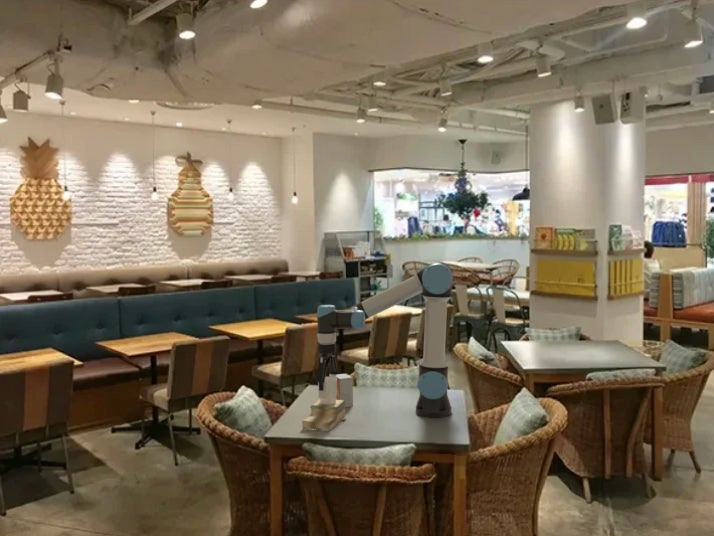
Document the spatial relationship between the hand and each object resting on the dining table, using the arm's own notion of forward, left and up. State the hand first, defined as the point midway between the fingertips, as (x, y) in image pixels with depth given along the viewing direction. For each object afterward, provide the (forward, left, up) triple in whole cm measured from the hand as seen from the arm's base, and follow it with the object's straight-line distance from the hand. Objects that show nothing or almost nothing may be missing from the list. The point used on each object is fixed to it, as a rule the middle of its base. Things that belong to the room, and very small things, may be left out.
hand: (327, 393), depth 268 cm
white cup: (0, 0, -4) cm, 4 cm away
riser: (0, +5, -11) cm, 12 cm away
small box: (+1, -22, -11) cm, 25 cm away
